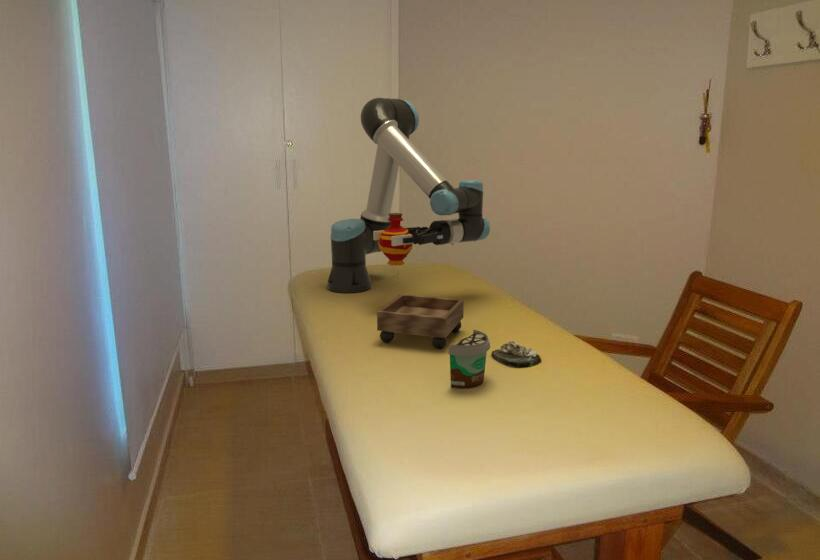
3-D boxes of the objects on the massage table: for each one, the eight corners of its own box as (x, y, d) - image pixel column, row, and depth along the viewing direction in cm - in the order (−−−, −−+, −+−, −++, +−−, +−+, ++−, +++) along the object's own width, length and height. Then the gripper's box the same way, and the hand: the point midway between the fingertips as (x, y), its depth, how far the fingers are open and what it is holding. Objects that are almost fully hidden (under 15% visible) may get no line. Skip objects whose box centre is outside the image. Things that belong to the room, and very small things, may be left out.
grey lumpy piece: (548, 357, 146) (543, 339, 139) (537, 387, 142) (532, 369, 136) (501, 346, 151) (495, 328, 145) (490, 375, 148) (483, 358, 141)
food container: (473, 396, 123) (475, 350, 121) (447, 389, 126) (448, 344, 124) (498, 376, 133) (500, 333, 131) (473, 370, 137) (474, 328, 134)
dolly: (377, 343, 154) (377, 311, 152) (401, 323, 170) (401, 294, 168) (445, 352, 148) (445, 318, 146) (463, 330, 165) (463, 299, 163)
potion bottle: (414, 260, 185) (414, 211, 181) (411, 267, 175) (411, 216, 171) (380, 259, 185) (379, 211, 182) (375, 267, 175) (374, 215, 172)
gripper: (466, 249, 179) (402, 257, 167) (425, 238, 198) (365, 245, 186) (467, 224, 177) (402, 230, 166) (425, 216, 196) (364, 221, 185)
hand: (382, 238), depth 176 cm, fingers closed on potion bottle, 10 cm apart
